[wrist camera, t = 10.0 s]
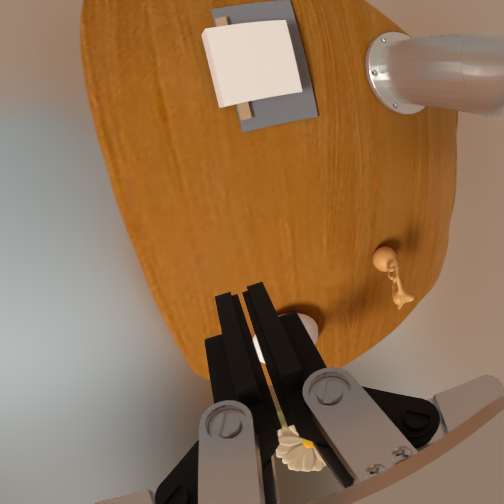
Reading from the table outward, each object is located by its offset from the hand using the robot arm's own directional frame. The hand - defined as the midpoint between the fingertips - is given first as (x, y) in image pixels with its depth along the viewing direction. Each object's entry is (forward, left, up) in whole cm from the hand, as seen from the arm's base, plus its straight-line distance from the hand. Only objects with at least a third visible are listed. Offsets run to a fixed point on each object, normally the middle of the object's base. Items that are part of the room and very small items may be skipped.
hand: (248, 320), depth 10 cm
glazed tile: (-4, -11, -24) cm, 27 cm away
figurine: (-22, +20, -27) cm, 40 cm away
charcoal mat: (-11, -11, -27) cm, 31 cm away
